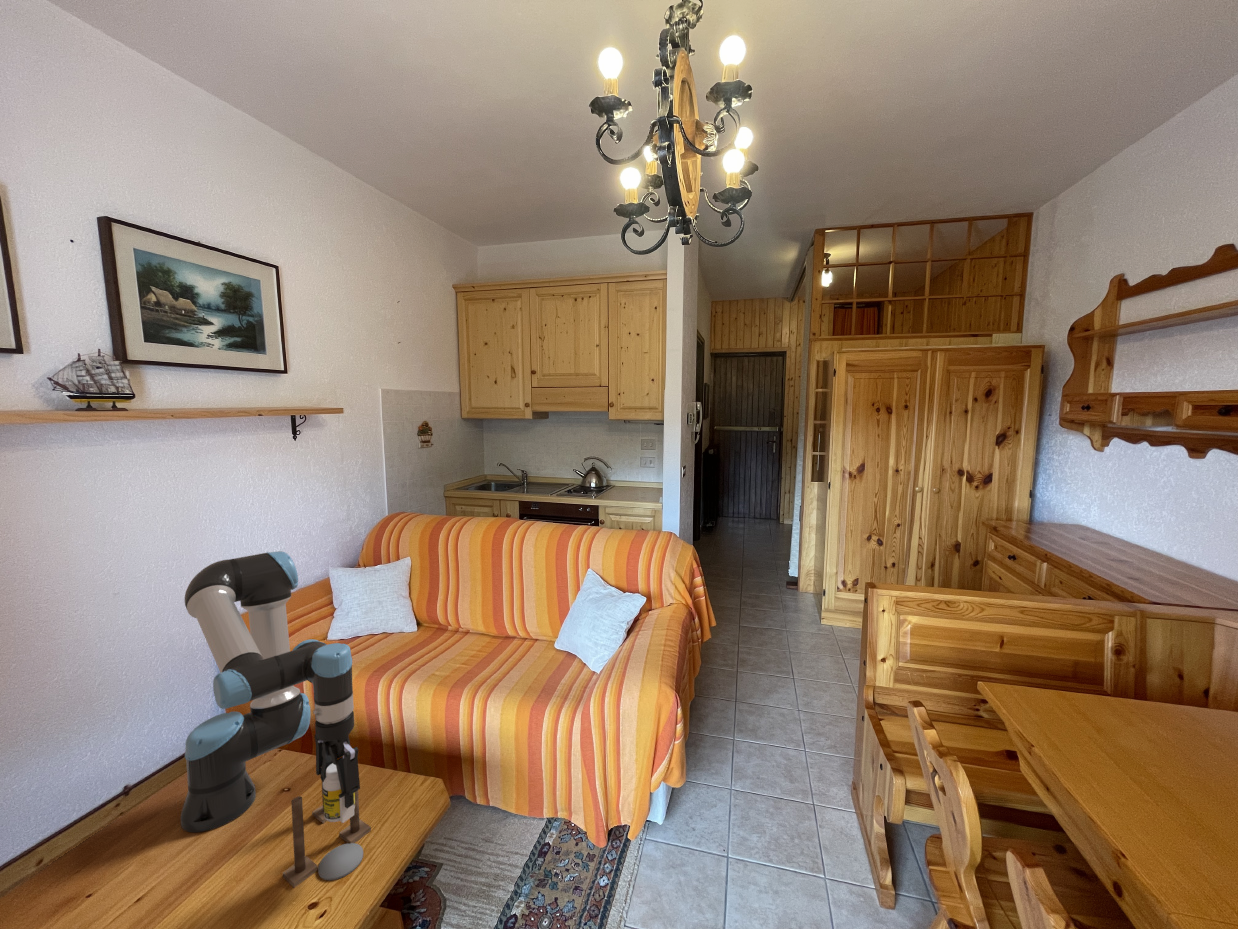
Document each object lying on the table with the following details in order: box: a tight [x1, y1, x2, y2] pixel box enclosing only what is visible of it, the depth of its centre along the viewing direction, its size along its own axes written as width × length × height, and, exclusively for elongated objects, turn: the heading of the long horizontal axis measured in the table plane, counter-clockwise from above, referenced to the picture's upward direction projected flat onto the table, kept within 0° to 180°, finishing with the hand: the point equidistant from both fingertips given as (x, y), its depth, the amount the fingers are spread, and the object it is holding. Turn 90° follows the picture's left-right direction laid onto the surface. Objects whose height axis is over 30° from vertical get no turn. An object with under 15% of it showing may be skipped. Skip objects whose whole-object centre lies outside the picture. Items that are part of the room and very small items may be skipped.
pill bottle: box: [322, 763, 355, 823], centre depth 110 cm, size 6×6×11 cm
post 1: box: [282, 795, 319, 889], centre depth 108 cm, size 5×5×18 cm
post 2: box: [311, 766, 328, 824], centre depth 125 cm, size 5×5×18 cm
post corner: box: [338, 790, 372, 844], centre depth 119 cm, size 5×5×18 cm
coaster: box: [317, 842, 364, 881], centre depth 111 cm, size 9×9×1 cm
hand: (339, 812), depth 110 cm, fingers closed on pill bottle, 6 cm apart
